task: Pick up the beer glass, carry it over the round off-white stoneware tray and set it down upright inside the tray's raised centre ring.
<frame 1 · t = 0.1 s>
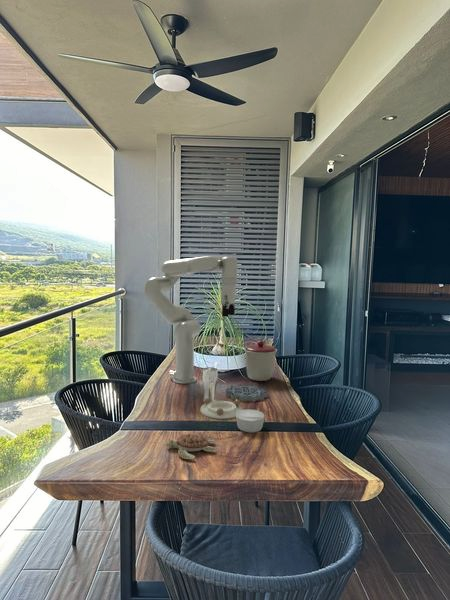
hand: (228, 315, 199), 37 cm above the table, tool pointing down, fingers open, 9 cm apart
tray: (221, 410, 168), on the table
decorative turtle: (190, 449, 134), on the table
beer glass: (209, 401, 180), on the table
canister: (259, 378, 217), on the table
ramekin: (249, 428, 152), on the table
decorative tile: (246, 395, 190), on the table
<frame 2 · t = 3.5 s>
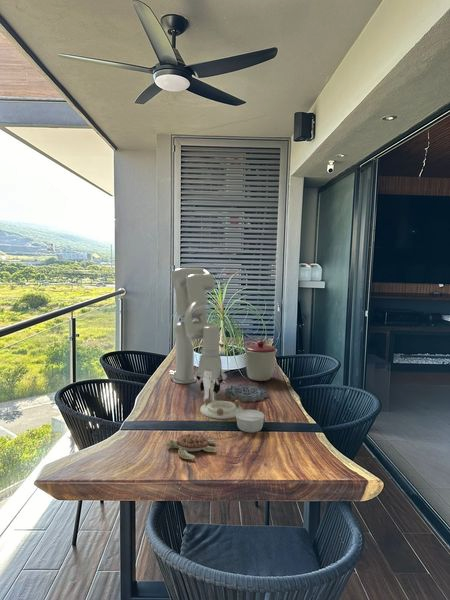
hand: (209, 391, 179), 5 cm above the table, tool pointing down, fingers closed on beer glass, 6 cm apart
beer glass: (209, 401, 180), on the table, touching gripper
everything else where it was.
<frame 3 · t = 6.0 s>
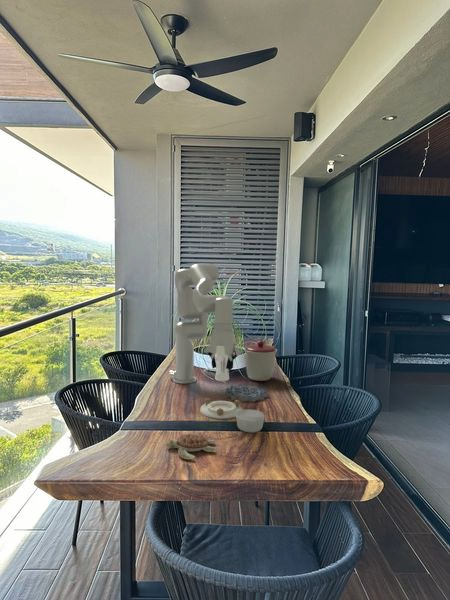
hand: (222, 368, 167), 19 cm above the table, tool pointing down, fingers closed on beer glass, 6 cm apart
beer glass: (222, 379, 167), point 14 cm above the table, touching gripper
everything else where it was.
when the fingers open (6 cm above the table, at t = 8.7 s): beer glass stays where it is, resting on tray.
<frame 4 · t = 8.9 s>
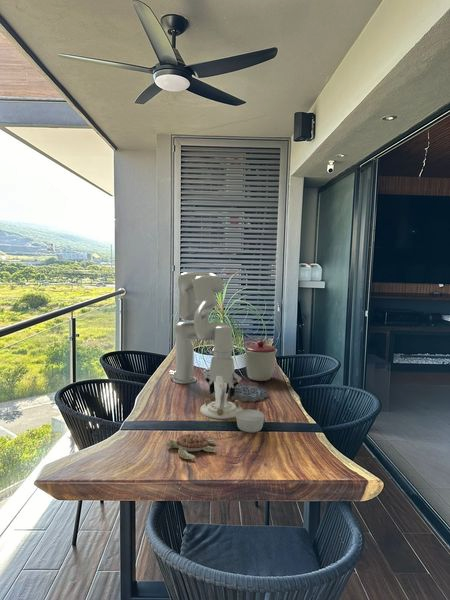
hand: (221, 394, 168), 7 cm above the table, tool pointing down, fingers open, 8 cm apart
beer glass: (221, 408, 168), point 1 cm above the table, touching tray
everything else where it was.
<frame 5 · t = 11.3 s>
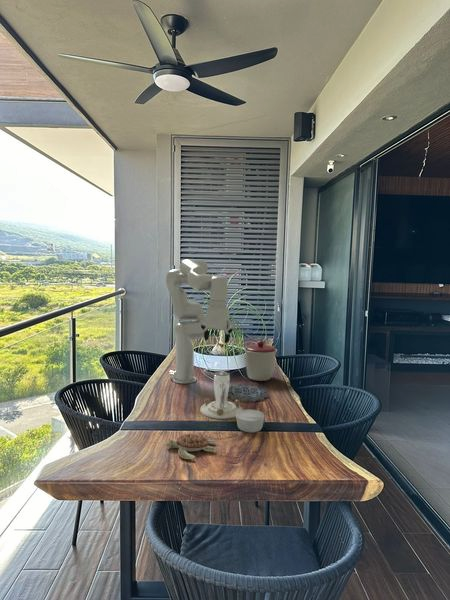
hand: (216, 341, 179), 28 cm above the table, tool pointing down, fingers open, 9 cm apart
nothing on the table moved.
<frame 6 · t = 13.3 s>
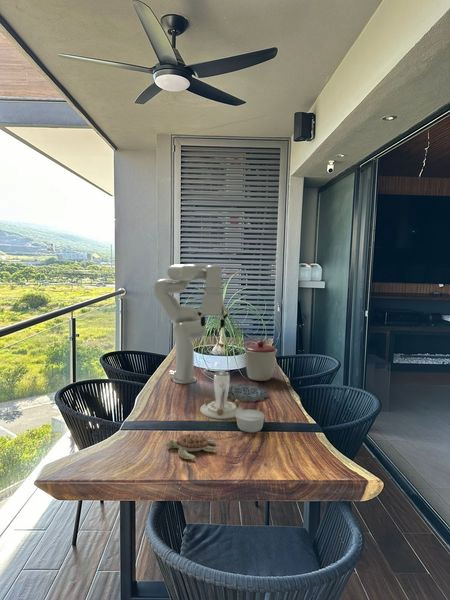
hand: (212, 326, 189), 32 cm above the table, tool pointing down, fingers open, 9 cm apart
nothing on the table moved.
at the end: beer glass 0.2 cm off-centre on the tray, point 0.8 cm above the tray's base; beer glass tilted 0°; the gripper is holding nothing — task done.
